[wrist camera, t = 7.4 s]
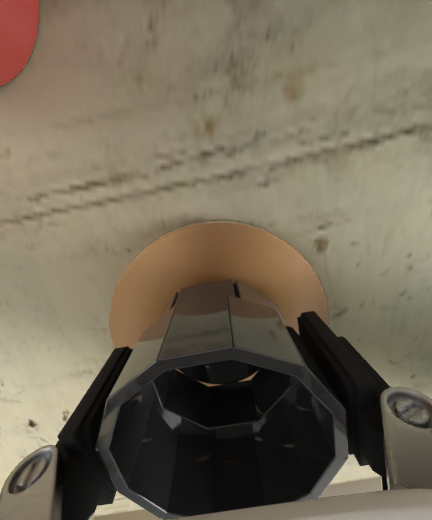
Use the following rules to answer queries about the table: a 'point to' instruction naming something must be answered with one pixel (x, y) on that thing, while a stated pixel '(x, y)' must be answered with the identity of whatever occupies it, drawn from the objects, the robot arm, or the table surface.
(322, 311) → the disc
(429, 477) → the robot arm
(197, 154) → the table surface
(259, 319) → the hollow tube
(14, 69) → the flower pot
